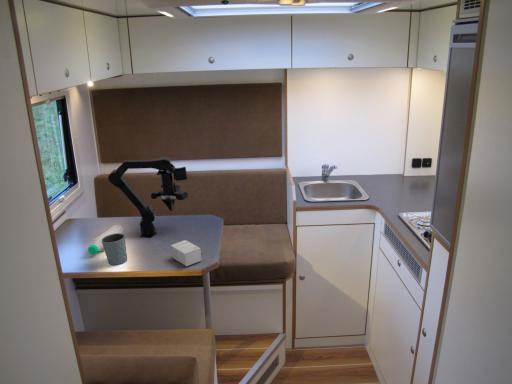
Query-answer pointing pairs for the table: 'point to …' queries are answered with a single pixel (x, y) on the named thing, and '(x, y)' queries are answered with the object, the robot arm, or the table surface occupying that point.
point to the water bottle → (98, 241)
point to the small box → (186, 253)
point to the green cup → (115, 248)
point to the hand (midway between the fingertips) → (171, 210)
